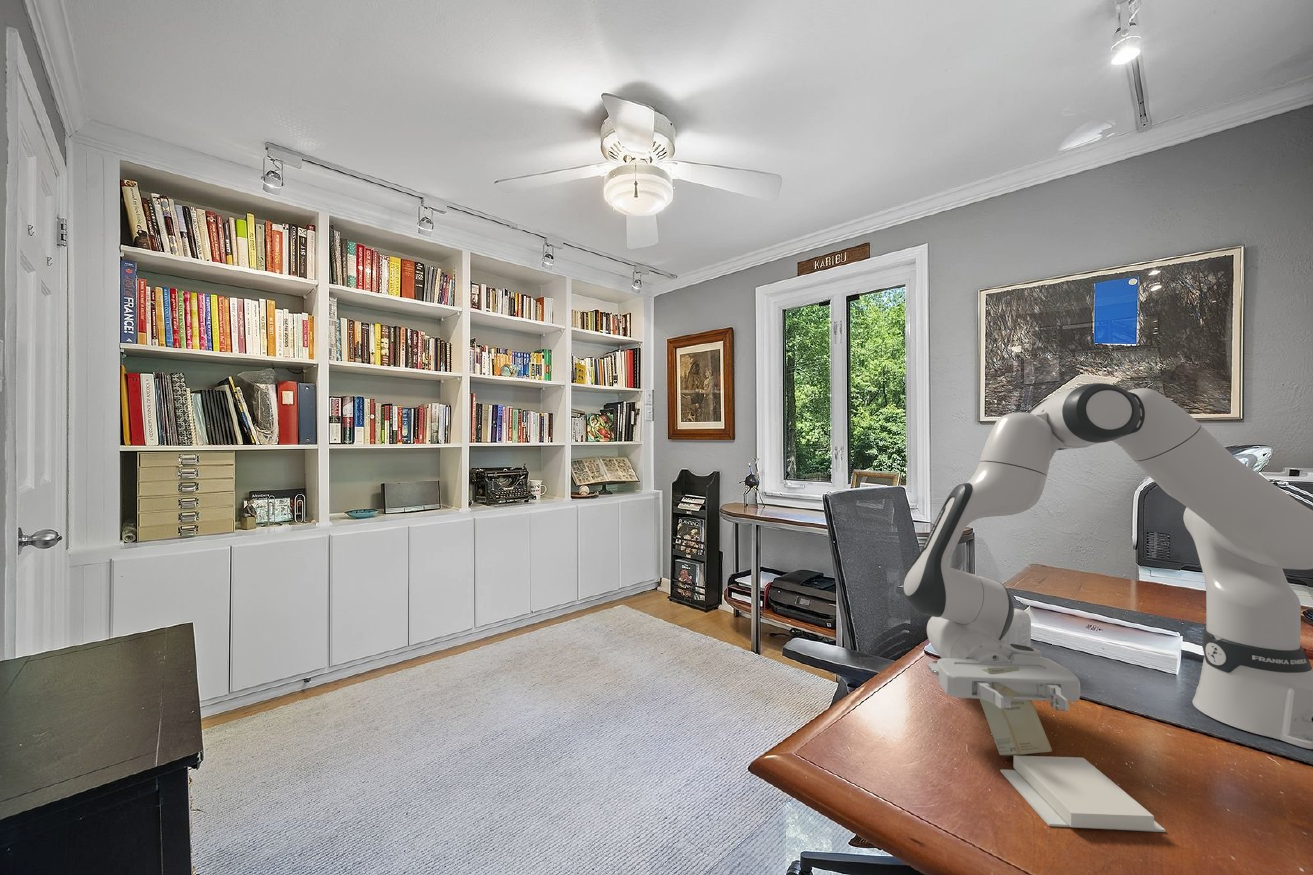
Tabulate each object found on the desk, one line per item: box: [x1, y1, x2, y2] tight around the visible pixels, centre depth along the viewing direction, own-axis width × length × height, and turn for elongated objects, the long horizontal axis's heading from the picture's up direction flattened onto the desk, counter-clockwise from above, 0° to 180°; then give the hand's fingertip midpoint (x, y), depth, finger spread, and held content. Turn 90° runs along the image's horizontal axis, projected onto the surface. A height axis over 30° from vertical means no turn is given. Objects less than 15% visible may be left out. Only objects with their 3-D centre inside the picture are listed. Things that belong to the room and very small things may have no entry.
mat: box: [999, 769, 1166, 833], centre depth 74 cm, size 14×11×1 cm
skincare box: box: [979, 667, 1053, 757], centre depth 85 cm, size 6×4×12 cm
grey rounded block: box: [1001, 607, 1032, 647], centre depth 114 cm, size 10×4×12 cm, turn 123°
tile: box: [1012, 755, 1155, 831], centre depth 74 cm, size 10×2×12 cm
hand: (1034, 705), depth 79 cm, fingers open, 7 cm apart
